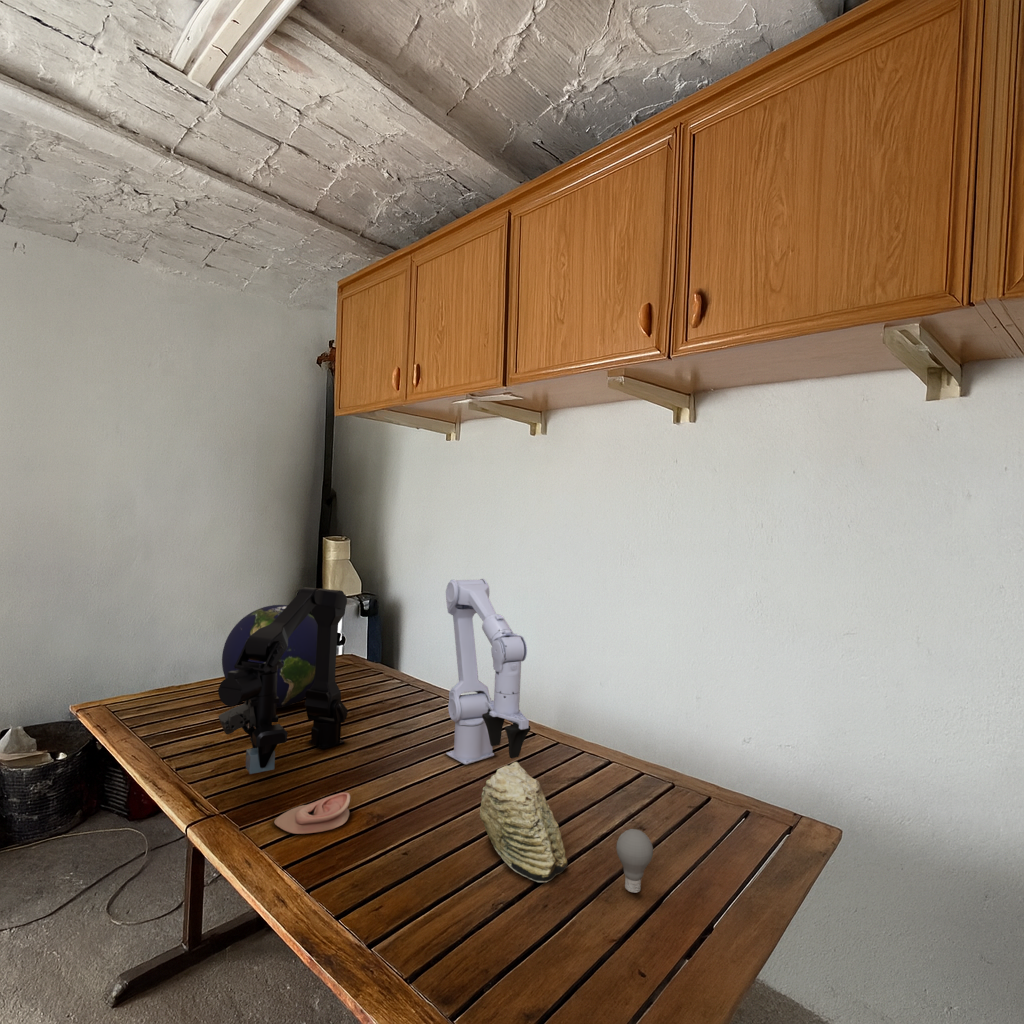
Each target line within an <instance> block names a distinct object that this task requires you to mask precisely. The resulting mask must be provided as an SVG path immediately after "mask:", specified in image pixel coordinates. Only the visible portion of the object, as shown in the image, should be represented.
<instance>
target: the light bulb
mask: <svg viewBox="0 0 1024 1024" xmlns="http://www.w3.org/2000/svg"><path fill="white" fill-rule="evenodd" d="M615 849H616V854H617V857H618V859H619V861H620V863H621V865H622V867H623V873H624V874H623V875H624V876H625V878H624V888H625V890H627V891H628V892H630V893H634V894H635V893H639V892H640V891H641V889H642V887H641V886H642V879H643V877H644V875H645V871H646V868H647V867H648V866H649V864H650V863H651V861H652V859H653V855H654V847H653V843H652V841H651V838H649V836H648V835H647V834H646V833H645V832H643V831H642V830H641V829H636V828H629V829H627V830H625V831H623V832H622V833H621V834H620V835H619V837H618V839H617V841H616V847H615Z"/></svg>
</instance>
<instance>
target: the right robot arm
mask: <svg viewBox="0 0 1024 1024" xmlns="http://www.w3.org/2000/svg"><path fill="white" fill-rule="evenodd" d="M445 599H446V600H445V601H446V609H447V613H448V614H449V615H450V616H452V621H453V633H454V643H455V652H456V653H455V654H456V664H457V675H458V681H457V683H456V684H455V685H454V686H453V687H451V689H450V690H449V691H448V705H447V709H448V715H449V717H450V719H451V721H453V722H454V737H453V738H454V741H453V750H450V751H446V756H448V757H450V758H452V759H454V760H456V761H457V762H459V763H461V764H463V765H470V764H472V763H476V762H479V761H482V760H485V759H488V758H492V757H494V756H495V753H494V752H493V747H496V746H500V745H501V741H502V736H503V735H502V733H503V727H504V730H505V733H506V737H507V742H508V756H509V757H508V758H510V759H517V758H519V757H520V754H521V751H522V748H523V745H524V742H525V739H526V737H527V736H528V734H529V733H530V731H531V725H530V719H529V718H528V717H526V715H524V713H523V712H522V711H521V709H520V702H521V701H520V699H521V678H522V677H521V676H522V675H521V674H522V663H523V662H524V661H525V660H526V658H527V655H528V647H527V642H526V640H525V638H524V636H523V635H521V634H518V633H514V631H513V629H512V628H511V627H510V625H509V623H508V622H507V620H506V619H505V617H504V616H503V615H502V614H499V613H497V612H496V610H495V607H494V606H493V604H492V602H491V599H490V586H489V583H488V581H487V580H486V579H485V578H480V579H453V578H452V579H450V580H449V581H448V583H447V586H446V589H445ZM475 614H477V615H478V617H479V618H480V619H481V620H482V624H481V629H482V631H483V634H484V635H485V637H486V638H487V640H488V642H489V643H490V645H491V647H490V652H491V653H490V654H491V657H492V667H493V670H494V690H493V692H494V693H493V700H492V698H491V695H490V691H489V687H488V686H487V684H484V682H482V681H481V680H480V679H479V671H478V660H477V650H476V640H475V629H474V619H473V618H474V616H475ZM465 693H467V694H465ZM505 720H506V721H508V722H510V723H512V724H511V725H507V726H504V723H505Z"/></svg>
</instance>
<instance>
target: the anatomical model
mask: <svg viewBox="0 0 1024 1024" xmlns="http://www.w3.org/2000/svg"><path fill="white" fill-rule="evenodd" d="M350 803H351V794H350V792H347V791H346V792H339V793H336V794H332V795H329V796H326V797H323V798H321V799H318V800H316V801H313V802H311V803H308V804H303V805H299V806H295V807H293V808H291V809H289V810H287V811H285V812H283V813H282V814H280V815H279V816H277V817H276V818H275V819H274V825H275V826H276V827H278V828H280V829H281V830H283V831H285V832H287V833H289V834H293V835H300V834H301V835H305V834H313V833H322V832H326V831H331V830H334V829H336V828H339V827H341V826H343V825H344V824H345V823H347V821H348V820H349V817H350V809H349V808H348V807H349V806H350Z"/></svg>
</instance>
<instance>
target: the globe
mask: <svg viewBox="0 0 1024 1024" xmlns="http://www.w3.org/2000/svg"><path fill="white" fill-rule="evenodd" d="M288 605H289V604H272V605H266V606H263V607H260V608H257V609H255V610H253V611H251V612H250V613H248V614H246V615H245V616H243V618H241V619H240V620H239V621H238V622H237V623H235V625H234V627H232V629H231V631H230V632H229V634H228V635H227V637H226V640H225V642H224V645H223V649H222V654H221V666H222V672H223V676H224V678H225V679H226V678H227V673H228V672H230V671H236V670H238V669H236V668H234V666H235V664H236V662H237V660H238V658H239V656H240V653H241V651H242V649H243V647H244V645H245V643H246V641H247V639H248V638H249V637H250V636H251V635H252V634H253V633H254V632H256V631H257V630H258V629H260V628H262V627H265V626H267V625H270V624H271V623H272V622H273V621H274V620H275V619H276V618H277V617H278V616H279V615H280V613H281V612H282V611H283V610H284V609H285V608H286V607H287V606H288ZM316 646H317V623H316V621H315V619H314V617H313V615H312V613H309V614H308V615H307V616H306V618H305V619H304V620H303V621H302V622H301V623H300V625H299V626H298V627H297V628H296V629H295V631H294V632H293V633H292V634H291V635H290V637H289V638H288V647H287V649H286V651H285V652H284V654H283V655H282V657H281V658H280V660H279V661H280V662H281V663H282V664H284V667H283V668H280V669H278V670H277V671H278V673H277V697H278V698H279V703H276V709H282V708H285V707H289V706H293V705H295V704H298V703H299V702H301V701H303V700H304V699H306V694H305V693H306V691H307V690H309V689H310V688H311V686H312V685H313V683H314V681H315V665H316ZM248 661H251V662H258V663H264V662H261V661H254V660H250V659H249V660H248Z"/></svg>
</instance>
